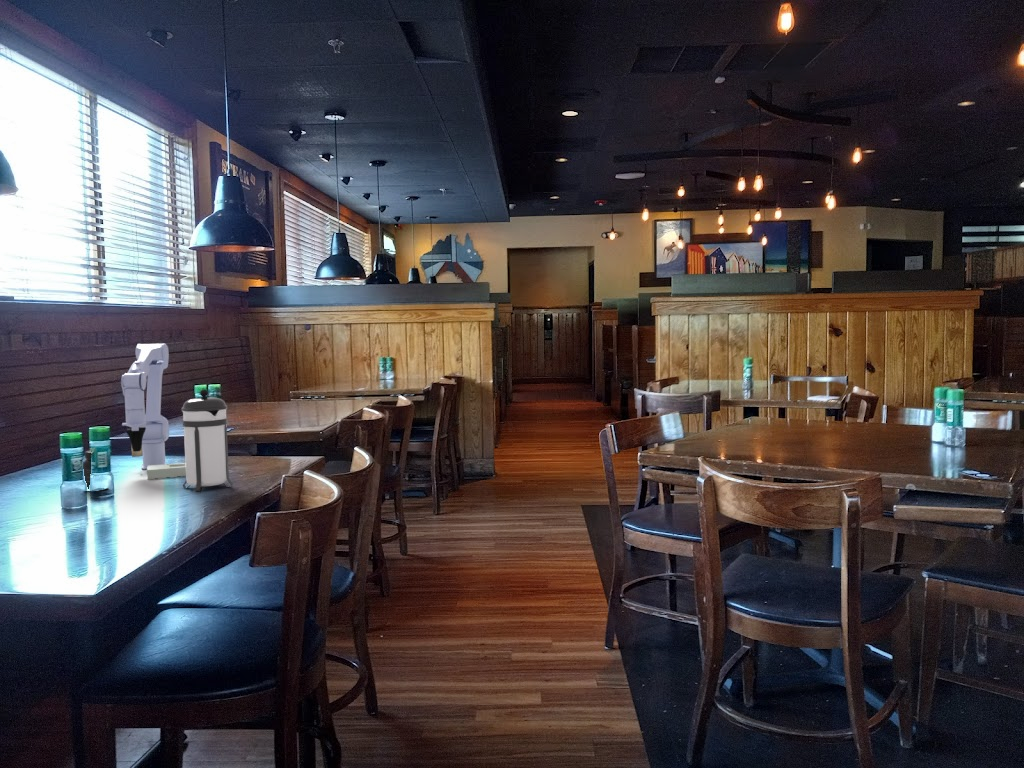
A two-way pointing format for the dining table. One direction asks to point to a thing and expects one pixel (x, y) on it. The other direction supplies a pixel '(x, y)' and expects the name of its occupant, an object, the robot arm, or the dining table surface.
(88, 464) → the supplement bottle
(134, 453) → the peg
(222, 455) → the coffee press
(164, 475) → the bore block
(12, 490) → the dining table surface
